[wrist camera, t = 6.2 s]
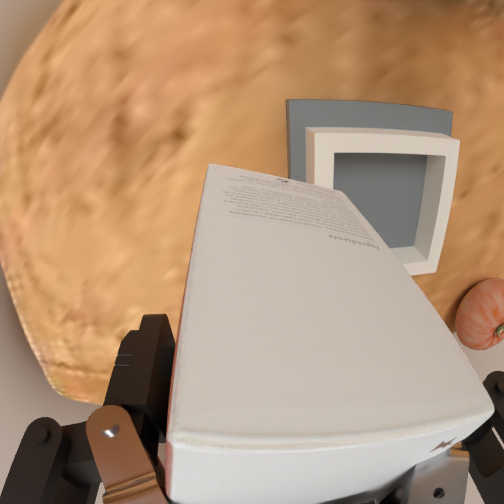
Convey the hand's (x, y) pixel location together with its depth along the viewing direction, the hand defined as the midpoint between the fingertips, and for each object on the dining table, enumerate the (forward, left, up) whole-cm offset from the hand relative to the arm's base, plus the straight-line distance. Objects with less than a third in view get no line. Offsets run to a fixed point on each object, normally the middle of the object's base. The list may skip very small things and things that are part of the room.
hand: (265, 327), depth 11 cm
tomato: (+19, +32, -20) cm, 42 cm away
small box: (0, 0, -4) cm, 4 cm away
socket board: (+3, +12, -19) cm, 23 cm away
